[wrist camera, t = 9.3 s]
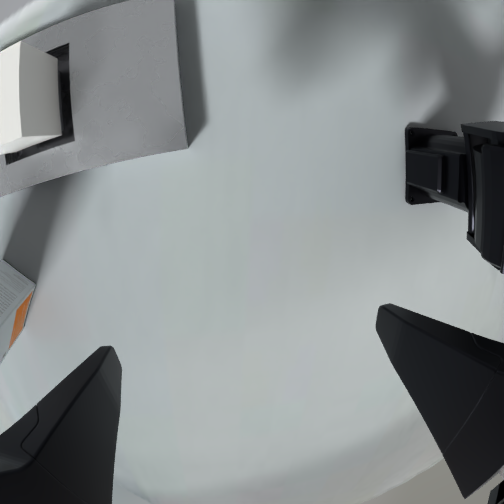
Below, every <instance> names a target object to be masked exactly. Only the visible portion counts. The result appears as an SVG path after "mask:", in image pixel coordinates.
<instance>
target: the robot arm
mask: <svg viewBox="0 0 504 504" xmlns="http://www.w3.org/2000/svg"><path fill="white" fill-rule="evenodd" d="M461 128H462V132H463V134H464V137H458V136H457V133H456V132H451V131H443V130H434V129H424V128H412V127H408V128H407V129H406V130H405V144H406V197H405V199H406V202H407V203H408V204H411V205H415V204H424V203H434V202H443V203H445V204H448V205H451V206H453V207H456V208H458V209H461V210H464V211H466V212H468V232H467V240H468V241H469V242H470V243H471V244H472V245H473V246H474V247H475V248H476V249H477V250H478V251H479V252H480V253H481V256H482V258H483V259H484V260H486V261H487V262H489V263H490V264H491V265H492V266H494V267H495V268H496V269H498V270H500V272H501V273H502V274H504V122H499V121H488V122H478V123H468V124H461ZM410 132H412V135H410ZM411 197H412V199H411ZM410 199H411V200H410ZM376 331H377V333H378V335H379V337H380V340H381V342H382V344H383V346H384V348H385V350H386V352H387V355H388V357H389V359H390V361H391V363H392V365H393V367H394V368H395V370H396V372H397V373H398V375H399V377H400V379H401V380H402V382H403V384H404V385H405V387H406V389H407V390H408V392H409V394H410V396H411V397H412V399H413V401H414V403H415V404H416V406H417V408H418V410H419V412H420V413H421V415H422V417H423V419H424V421H425V422H426V424H427V426H428V428H429V430H430V432H431V433H432V435H433V437H434V439H435V441H436V443H437V445H438V447H439V449H440V451H441V452H442V454H443V457H444V459H445V461H446V463H447V465H448V467H449V469H450V470H451V473H452V475H453V477H454V479H455V481H456V483H457V485H458V487H459V489H460V491H461V493H462V495H463V497H464V498H465V499H466V498H467V497H469V496H470V495H471V494H473V493H474V492H475V491H477V490H478V489H479V488H481V487H482V486H483V485H484V484H486V483H487V482H488V481H489V480H491V479H492V478H493V477H494V476H496V475H497V474H498V473H499V474H500V475H501V477H502V478H503V479H504V343H501V342H498V341H494V340H491V339H488V338H485V337H482V336H479V335H476V334H474V333H470V332H468V331H465V330H463V329H460V328H457V327H454V326H451V325H449V324H446V323H443V322H440V321H438V320H435V319H432V318H429V317H427V316H424V315H421V314H418V313H415V312H413V311H410V310H407V309H404V308H402V307H399V306H396V305H393V304H390V303H389V304H385V305H381V306H380V307H379V309H378V314H377V320H376ZM121 379H122V367H121V364H120V361H119V359H118V357H117V354H116V352H115V350H114V348H113V347H112V346H101V347H99V348H98V349H97V350H96V351H95V352H94V353H93V354H92V355H90V356H89V357H88V358H87V359H86V360H85V361H84V362H83V363H81V364H80V365H79V366H78V367H77V368H76V369H75V370H74V371H72V372H71V373H70V374H69V375H68V376H67V377H66V378H65V379H64V380H62V381H61V382H60V383H59V384H58V385H57V386H56V387H55V388H54V389H53V390H51V391H50V392H49V393H48V394H47V395H46V396H45V397H44V398H43V399H42V400H41V401H39V402H38V403H37V405H35V406H34V407H33V408H32V409H31V410H30V411H29V412H27V413H26V414H25V415H24V416H23V417H22V418H21V419H20V420H18V421H17V422H16V423H15V424H14V425H12V426H11V427H10V428H9V429H7V430H6V431H5V432H3V433H2V434H1V435H0V504H112V490H113V474H114V462H115V451H116V441H117V432H118V424H119V417H120V406H121ZM488 504H504V480H503V481H502V482H501V483H500V484H498V485H497V486H496V487H495V488H494V489H493V490H491V492H490V496H489V500H488Z"/></svg>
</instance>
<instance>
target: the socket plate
mask: <svg viewBox="0 0 504 504" xmlns="http://www.w3.org/2000/svg"><path fill="white" fill-rule="evenodd" d="M21 41H22V42H24V43H27V44H29V45H31V46H33V47H35V48H37V49H39V50H41V51H43V52H45V53H47V54H49V55H51V56H53V57H55V58H57V59H58V71H60V79H61V100H62V114H63V125H64V130H63V131H61V132H62V135H61V136H58V137H55V138H52V139H49V140H46V141H43V142H41V143H38V144H35V145H32V146H30V147H27V148H25V149H22V150H20V151H17V152H13V153H7V154H1V155H0V197H2V196H4V195H7V194H10V193H13V192H15V191H18V190H21V189H24V188H27V187H30V186H33V185H36V184H39V183H42V182H45V181H49V180H52V179H55V178H59V177H62V176H65V175H69V174H73V173H76V172H80V171H84V170H87V169H91V168H95V167H99V166H103V165H107V164H112V163H116V162H120V161H125V160H129V159H134V158H139V157H144V156H149V155H154V154H160V153H165V152H171V151H177V150H183V149H188V142H187V134H186V125H185V116H184V107H183V98H182V88H181V78H180V66H179V55H178V42H177V28H176V11H175V0H129V1H125V2H121V3H117V4H113V5H110V6H106V7H103V8H100V9H97V10H93V11H90V12H87V13H84V14H82V15H79V16H76V17H73V18H71V19H68V20H65V21H63V22H60V23H58V24H56V25H53V26H51V27H48V28H46V29H44V30H42V31H40V32H37V33H35V34H33V35H31V36H29V37H27V38H25V39H23V40H21Z"/></svg>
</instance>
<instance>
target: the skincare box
mask: <svg viewBox="0 0 504 504" xmlns="http://www.w3.org/2000/svg"><path fill="white" fill-rule="evenodd" d="M35 286H36V285H35V283H34V282H32V281H31V280H29V279H28V278H26V277H25V276H24V275H22V274H21V273H20V272H18V271H17V270H16V269H14V268H13V267H12V266H11V265H9V264H8V263H7V262H5V261H4V260H1V261H0V364H1V363H2V361H3V359H4V358H5V356H6V355H7V353H8V351H9V350H10V348H11V347H12V345H13V344H14V342H15V341H16V339H17V338H18V336H19V335H20V334H21V332H22V331H23V328H24V323H25V319H26V315H27V311H28V307H29V304H30V301H31V298H32V295H33V292H34V289H35Z"/></svg>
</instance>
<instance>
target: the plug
mask: <svg viewBox="0 0 504 504" xmlns="http://www.w3.org/2000/svg"><path fill="white" fill-rule="evenodd" d="M63 130H64V125H63V114H62V100H61V79H60V71H58V59H57V58H55V57H53V56H51V55H49V54H47V53H45V52H43V51H41V50H39V49H37V48H35V47H33V46H31V45H29V44H27V43H24V42H22V41H19V42H17V43H15V44H13V45H12V46H10V47H8V48H6V49H4V50H3V51H1V52H0V155H1V154H7V153H13V152H17V151H20V150H22V149H25V148H27V147H30V146H32V145H35V144H38V143H41V142H43V141H46V140H49V139H52V138H55V137H58V136H61V135H62V132H61V131H63Z"/></svg>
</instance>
